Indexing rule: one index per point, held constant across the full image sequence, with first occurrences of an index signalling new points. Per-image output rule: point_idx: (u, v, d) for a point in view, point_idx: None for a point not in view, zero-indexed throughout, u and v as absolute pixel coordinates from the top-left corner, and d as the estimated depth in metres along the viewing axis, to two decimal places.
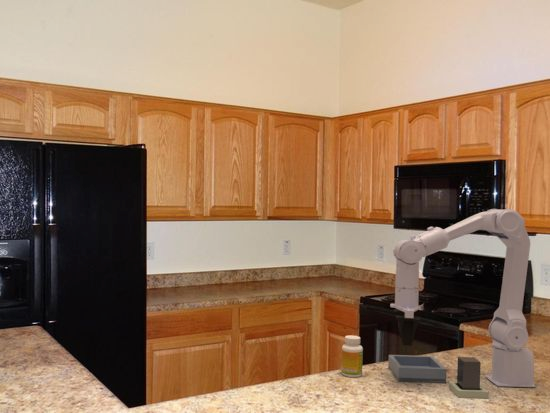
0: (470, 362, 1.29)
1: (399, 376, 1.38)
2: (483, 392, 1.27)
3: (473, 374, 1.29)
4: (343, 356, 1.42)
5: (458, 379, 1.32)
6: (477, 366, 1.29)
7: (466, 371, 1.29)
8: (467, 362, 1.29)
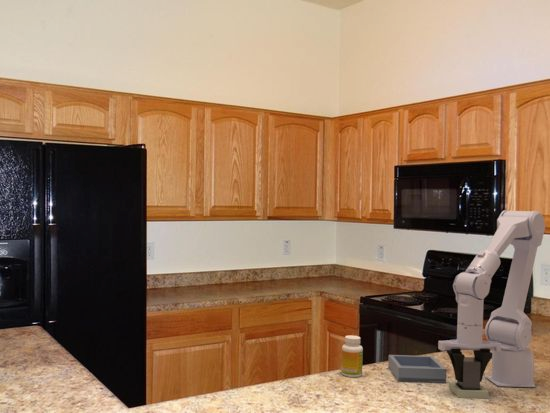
0: (470, 362, 1.29)
1: (399, 376, 1.38)
2: (483, 392, 1.27)
3: (473, 373, 1.29)
4: (343, 356, 1.42)
5: None
6: (477, 366, 1.29)
7: (466, 370, 1.29)
8: (467, 362, 1.29)
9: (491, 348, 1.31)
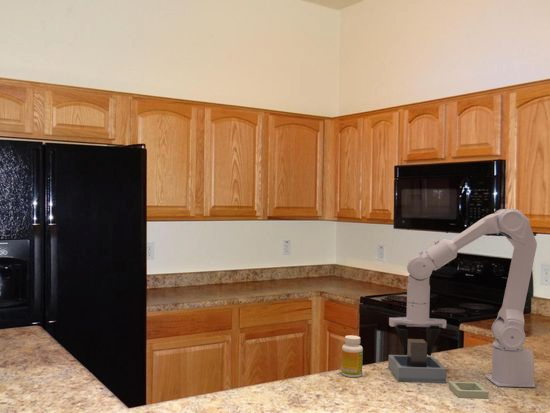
0: (418, 343, 1.42)
1: (399, 376, 1.38)
2: (483, 392, 1.27)
3: (421, 353, 1.41)
4: (343, 356, 1.42)
5: (408, 359, 1.44)
6: (424, 347, 1.41)
7: (414, 351, 1.41)
8: (415, 343, 1.42)
9: (438, 325, 1.44)
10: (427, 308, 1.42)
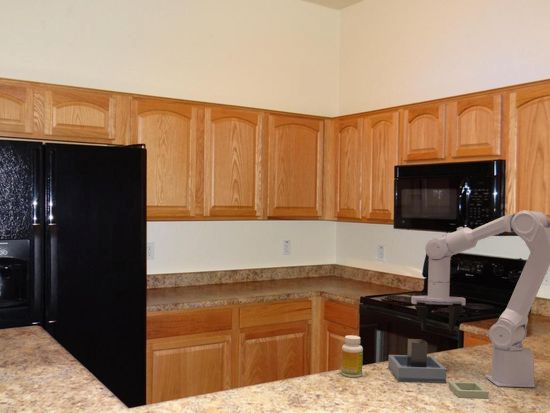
0: (418, 343, 1.41)
1: (399, 376, 1.38)
2: (483, 392, 1.27)
3: (421, 354, 1.41)
4: (343, 356, 1.42)
5: (408, 359, 1.44)
6: (424, 347, 1.41)
7: (414, 351, 1.41)
8: (415, 343, 1.41)
9: (457, 303, 1.53)
10: (447, 286, 1.51)
